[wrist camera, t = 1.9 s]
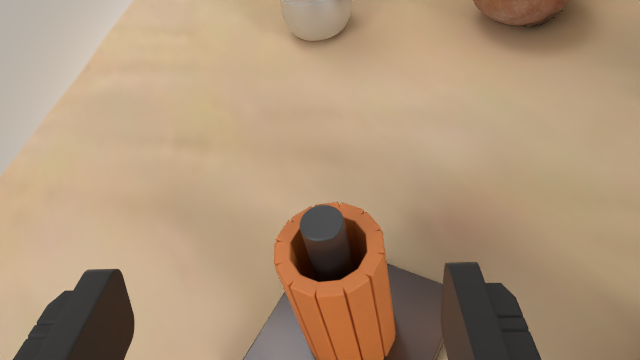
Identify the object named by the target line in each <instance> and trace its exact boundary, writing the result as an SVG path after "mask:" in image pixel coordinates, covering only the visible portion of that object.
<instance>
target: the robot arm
mask: <svg viewBox="0 0 640 360" xmlns="http://www.w3.org/2000/svg"><path fill="white" fill-rule="evenodd" d="M441 327H442V334H443V339H444V344H445V348H446V352H447V357H448V360H541V358H540V355H539V353H538V350H537V348H536V345H535V343H534V341H533V338H532V336H531V333H530V332H529V331H528V326H527V324H526V321H525V319H524V318H523V314H522V312H521V309H520V307H519V304H518V302H517V299H516V297H515V296H514V295H513V294H512V293H511V292H510V291H509V290H508V289H506V288H505V287H504V286H503V285H502V284H501V283H485V281H484V278H483V275H482V273H481V270H480V267H479V265H478V263H477V262H457V263H446V264H445V268H444V279H443V291H442V303H441ZM133 334H134V314H133V311H132V307H131V303H130V300H129V296H128V293H127V289H126V286H125V282H124V278H123V275H122V273H121V271H120V270H119V269H94V270H87V271H85V272H84V274H83V275H82V277H81V279H80V280H79V282H78V284H77V285H76V287H75V289H74V290H73V291H64V292H63V293H62V294H60V295H59V296H58V297H57V298H56V299H55V300H53V301H52V302H51V303H50V304H49V305H47V307H46V308H45V310H44V312H43V313H42V315H41V316H40V318H39V319H38V321H37V325H35V326H34V327H33V329H32V331H31V332H30V334H29V335H28V339H26V340H25V342H24V343H23V345H22V346H21V348H20V349H19V351H18V353H17V354H16V356H15V357H14V359H13V360H124V358H125V356H126V353H127V351H128V348H129V346H130V344H131V341H132V338H133Z"/></svg>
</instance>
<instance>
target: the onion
mask: <svg viewBox="0 0 640 360" xmlns="http://www.w3.org/2000/svg"><path fill="white" fill-rule="evenodd" d="M473 1H474V3H475V5H476V6H477V7H478V9H479V10H480V11H481V12H482V13H483V14H485V15H486V16H487V17H488V18H490V19H492V20H495V21H497V22H500V23H504V24H509V25H518V26H521V25H525V26H524V27H530V26H533V25H537V24H540V25H542V24H544V23H545V22H547V21H548V20H549V19H552V18H555V17H553V16H555V15H556V14H558V13H559V12H561V11H562V10H561V9H562V8H563V7H564V6H565V5H566V4H568V2H569V1H570V0H473ZM541 23H542V24H541ZM540 25H539V26H540Z"/></svg>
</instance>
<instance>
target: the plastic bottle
mask: <svg viewBox="0 0 640 360" xmlns="http://www.w3.org/2000/svg"><path fill="white" fill-rule="evenodd" d="M351 1H352V0H281V7H282V15H283V17H284V20H285V22H286V24H287V26H288V28H289V30H290V31H291V32H292V33H293V34H295V35H296V36H297V37H299V38H301V39H303V40H308V41H319V40H324V39H328V38H330V37H333V36H335V35H336V34H338V33H339V32H341V31H342V30H343V29H344V27H345V26H346V24H347V22H348V21H349V19H350V16H351Z"/></svg>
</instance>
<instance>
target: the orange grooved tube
mask: <svg viewBox="0 0 640 360" xmlns="http://www.w3.org/2000/svg"><path fill="white" fill-rule="evenodd" d="M319 205H330V206H333V207H335V208H337V209H338V210H339V211H340V212H341V213H342V215H343V218H344V222H345V227H346V231H347V236H348V240H349V245H350V250H351V254H352V259H353V263H354V268H355V271H354V272H352V273H350V274H349V275H347V276H346V277H344V278H342V279H341V280H334V281H324V282H317V280H316V277H315V274H314V271H313V268H312V265H311V262H310V258H309V255H308V252H307V249H306V246H305V243H304V240H303V237H302V234H301V231H300V220H301V218H302V216H303V215H304V213H305V212H306V211H308V210H309V209H310V208H312V207H309V208H307V209H306V210H304V211H302V212H301V213H299V214H297V215H295V216H294V217H292V218H291V220H292V221H288V222H287V223H286V225H285V226H284V228H283V229H282V231H281V232H280V234H279V235H278V237H277V238H276V241H277V242H276V243H275V250H274V264H275V268H276V271H277V273H278V276H279V278H280V280H281V283H282V285H283V287H284V290H285V292H286V294H287V297H288V299H289V301H290V304H291V306H292V309H293V311H294V313H295V316H296V318H297V320H298V323H299V325H300V327H301V330H302V332H303V335H304V337H305V339H306V342H307V344H308V346H309V348H310V350H311V351H312V353H313V354H314V356H315V357H316V359H317V360H383V359H384V356H387V355H388V353H389V351H390V348H391V346H392V344H393V342H394V340H395V335H396V332H395V323H394V315H393V308H392V300H391V293H390V285H389V278H388V270H387V263H386V255H385V248H384V240H383V233H382V231H381V229H380V227H379V225H378V224H377V223H376V222H375V221H374V220H373V219H372V218H371V216H370V215H369V214H368V213H367V212H365V213H364V210H363V209H360V208H357V207H354V206H351V205H348V204H345V203H341V205H340V206H339V203H338V202H336V203H328V204H319ZM315 206H318V205H315Z"/></svg>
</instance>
